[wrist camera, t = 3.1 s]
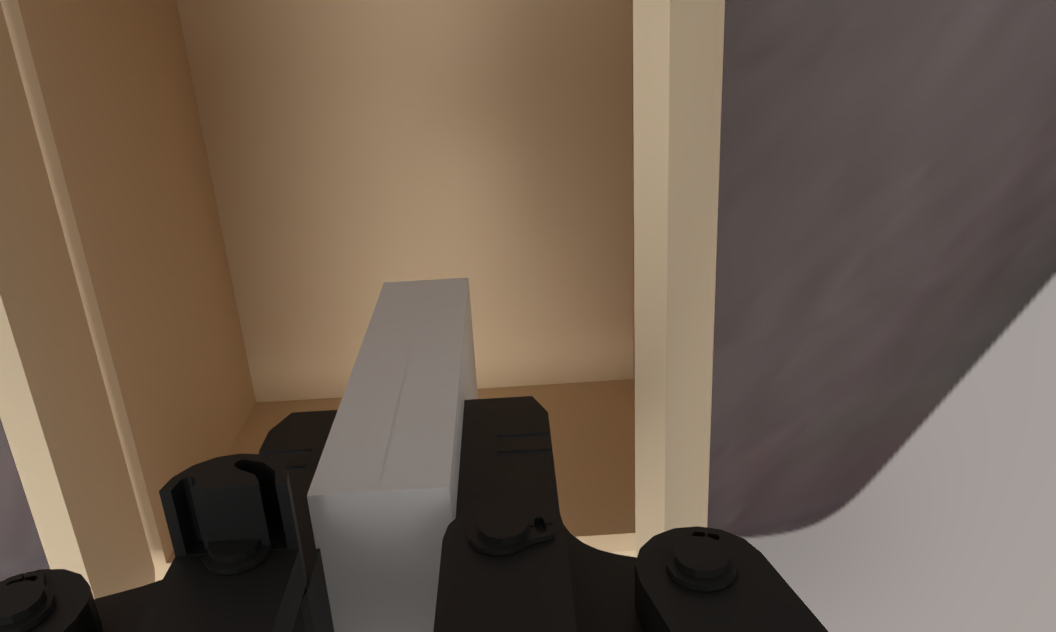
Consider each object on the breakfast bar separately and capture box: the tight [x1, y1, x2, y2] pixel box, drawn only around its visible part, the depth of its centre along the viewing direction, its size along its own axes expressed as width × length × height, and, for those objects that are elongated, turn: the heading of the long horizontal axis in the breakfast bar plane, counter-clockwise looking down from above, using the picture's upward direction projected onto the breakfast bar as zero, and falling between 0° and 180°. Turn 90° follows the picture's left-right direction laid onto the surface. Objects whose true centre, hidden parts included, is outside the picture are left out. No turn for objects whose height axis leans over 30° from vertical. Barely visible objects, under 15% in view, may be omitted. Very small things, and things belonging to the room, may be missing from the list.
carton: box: [0, 0, 636, 582], centre depth 25 cm, size 19×16×10 cm
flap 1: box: [0, 1, 155, 599], centre depth 16 cm, size 16×1×7 cm, turn 3°
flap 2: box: [633, 0, 725, 557], centre depth 17 cm, size 16×1×7 cm, turn 3°
